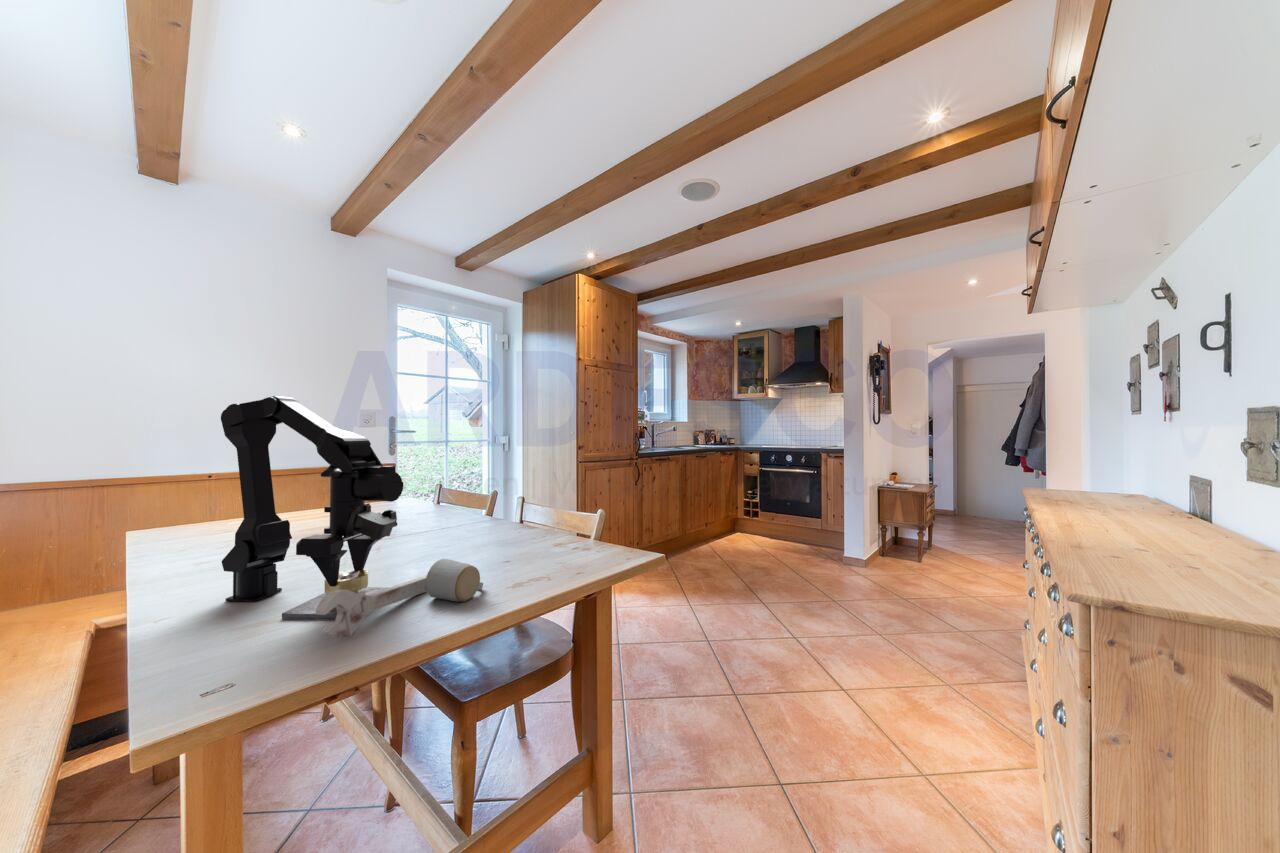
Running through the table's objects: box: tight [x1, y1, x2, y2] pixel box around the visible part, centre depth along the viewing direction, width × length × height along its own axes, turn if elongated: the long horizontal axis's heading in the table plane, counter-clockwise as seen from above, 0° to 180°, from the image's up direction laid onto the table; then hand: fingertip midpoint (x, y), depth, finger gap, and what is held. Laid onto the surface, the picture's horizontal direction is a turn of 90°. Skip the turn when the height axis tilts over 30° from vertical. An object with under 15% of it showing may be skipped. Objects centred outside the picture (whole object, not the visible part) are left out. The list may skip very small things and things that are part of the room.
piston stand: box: [281, 570, 391, 621], centre depth 87 cm, size 14×14×6 cm
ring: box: [324, 569, 369, 593], centre depth 87 cm, size 7×7×2 cm
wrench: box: [316, 575, 427, 638], centre depth 83 cm, size 8×2×30 cm
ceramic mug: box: [425, 558, 484, 603], centre depth 92 cm, size 11×8×8 cm
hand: (346, 579), depth 87 cm, fingers closed on ring, 7 cm apart
